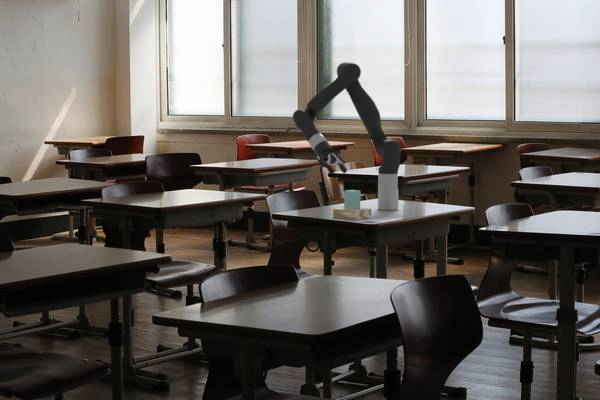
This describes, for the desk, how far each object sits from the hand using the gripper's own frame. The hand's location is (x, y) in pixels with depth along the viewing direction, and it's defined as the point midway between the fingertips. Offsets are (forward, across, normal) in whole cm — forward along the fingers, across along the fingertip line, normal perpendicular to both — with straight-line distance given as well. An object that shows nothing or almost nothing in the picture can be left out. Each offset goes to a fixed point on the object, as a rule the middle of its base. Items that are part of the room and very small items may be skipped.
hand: (339, 172), depth 446 cm
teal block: (+16, 0, +6) cm, 17 cm away
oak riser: (+19, 0, +8) cm, 21 cm away
